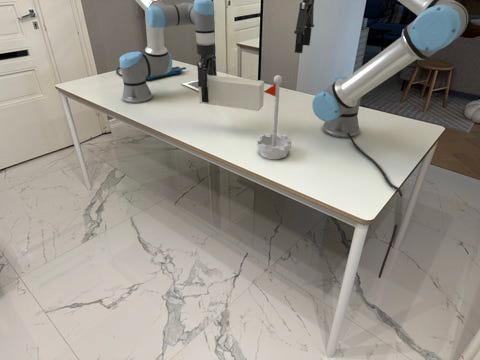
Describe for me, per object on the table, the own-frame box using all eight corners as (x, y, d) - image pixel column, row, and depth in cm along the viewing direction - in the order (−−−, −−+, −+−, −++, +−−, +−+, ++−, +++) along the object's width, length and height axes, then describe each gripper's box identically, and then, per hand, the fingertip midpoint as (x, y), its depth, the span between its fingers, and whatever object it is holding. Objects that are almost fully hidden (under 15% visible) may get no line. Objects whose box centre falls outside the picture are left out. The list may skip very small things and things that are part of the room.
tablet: (181, 84, 205) (181, 83, 205) (208, 77, 216) (208, 77, 216) (213, 98, 185) (213, 97, 185) (241, 90, 196) (241, 89, 196)
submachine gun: (171, 61, 240) (190, 66, 223) (172, 66, 242) (191, 72, 225) (125, 70, 221) (142, 76, 205) (126, 76, 223) (144, 82, 207)
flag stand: (280, 142, 140) (286, 68, 124) (296, 156, 130) (304, 78, 113) (251, 147, 136) (253, 72, 120) (265, 163, 126) (269, 82, 109)
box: (263, 105, 144) (264, 80, 138) (258, 111, 139) (259, 85, 133) (205, 98, 152) (204, 74, 146) (199, 103, 147) (197, 78, 141)
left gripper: (207, 38, 144) (210, 91, 157) (186, 47, 129) (190, 105, 141) (223, 39, 142) (225, 93, 154) (204, 49, 126) (207, 108, 139)
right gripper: (305, -18, 130) (300, 41, 141) (290, -13, 110) (284, 55, 122) (325, -17, 127) (318, 43, 139) (313, -12, 108) (305, 57, 120)
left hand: (208, 99), depth 148 cm, fingers closed on box, 7 cm apart
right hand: (302, 48), depth 131 cm, fingers open, 13 cm apart
